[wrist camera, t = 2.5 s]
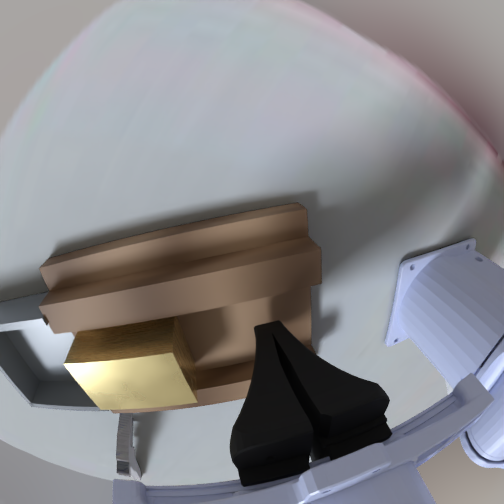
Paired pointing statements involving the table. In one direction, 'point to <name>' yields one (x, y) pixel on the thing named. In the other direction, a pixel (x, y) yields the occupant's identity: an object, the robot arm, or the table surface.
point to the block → (134, 365)
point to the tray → (38, 358)
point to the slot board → (193, 242)
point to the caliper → (126, 448)
